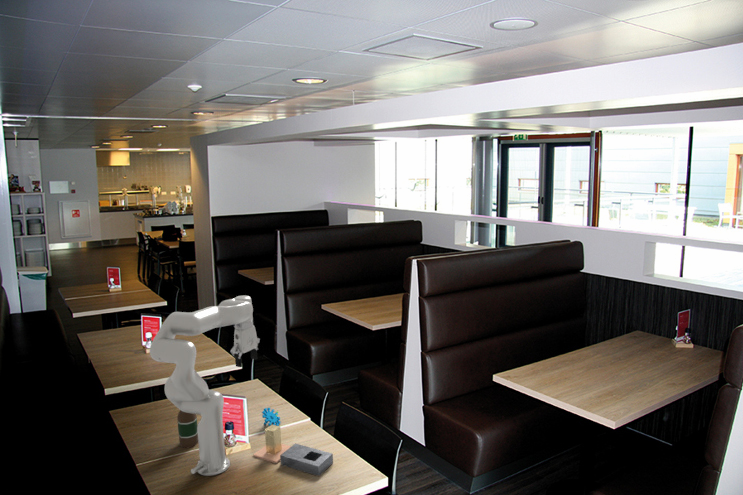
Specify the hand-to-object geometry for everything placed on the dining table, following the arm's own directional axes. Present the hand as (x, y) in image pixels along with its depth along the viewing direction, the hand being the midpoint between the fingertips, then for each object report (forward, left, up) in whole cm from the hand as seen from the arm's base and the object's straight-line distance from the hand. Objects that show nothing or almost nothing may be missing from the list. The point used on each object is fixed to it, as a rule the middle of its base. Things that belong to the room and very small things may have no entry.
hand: (246, 362), depth 233 cm
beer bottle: (-19, +18, -33) cm, 42 cm away
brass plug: (-9, -20, -32) cm, 38 cm away
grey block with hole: (-10, -37, -32) cm, 50 cm away
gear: (+10, -4, -33) cm, 34 cm away
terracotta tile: (-9, -20, -32) cm, 39 cm away
